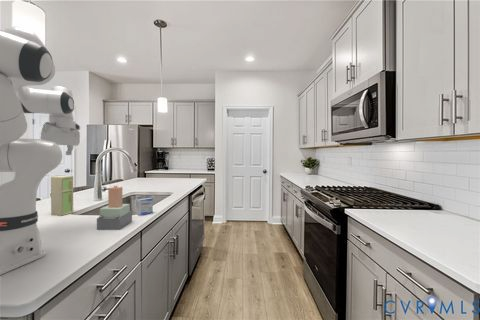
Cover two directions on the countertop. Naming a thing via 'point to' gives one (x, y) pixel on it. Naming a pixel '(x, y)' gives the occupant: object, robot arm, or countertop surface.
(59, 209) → the toy refrigerator
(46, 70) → the robot arm
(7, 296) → the countertop surface
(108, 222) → the green-topped grey pedestal
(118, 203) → the orange knobbed block
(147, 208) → the medicine box
